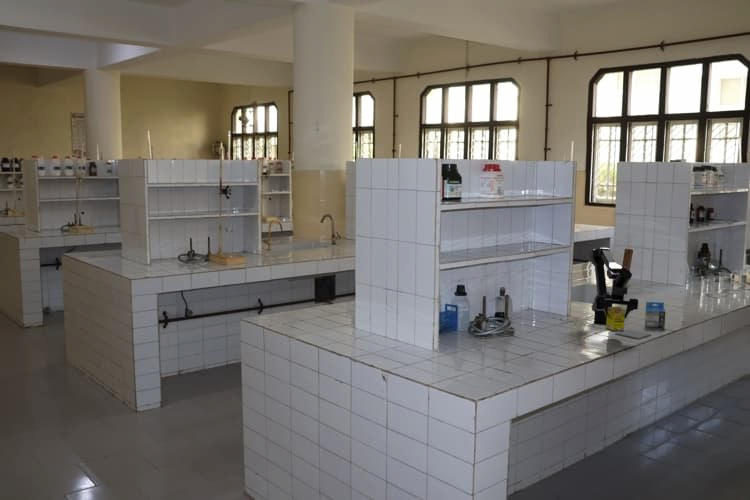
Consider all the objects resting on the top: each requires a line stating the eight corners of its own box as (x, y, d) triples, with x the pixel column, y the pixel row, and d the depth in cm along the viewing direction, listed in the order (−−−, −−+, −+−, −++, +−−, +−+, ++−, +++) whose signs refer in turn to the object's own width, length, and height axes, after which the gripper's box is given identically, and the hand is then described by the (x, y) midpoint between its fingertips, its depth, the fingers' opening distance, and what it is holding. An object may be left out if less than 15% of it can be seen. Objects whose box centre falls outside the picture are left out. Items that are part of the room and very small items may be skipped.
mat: (638, 339, 317) (638, 338, 317) (615, 334, 326) (615, 333, 326) (650, 335, 325) (650, 334, 325) (627, 330, 334) (627, 329, 333)
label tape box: (646, 327, 341) (648, 303, 340) (644, 325, 345) (646, 301, 344) (664, 327, 340) (666, 304, 338) (662, 326, 344) (664, 302, 342)
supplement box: (613, 332, 314) (614, 309, 312) (605, 329, 320) (607, 306, 318) (624, 331, 315) (625, 308, 314) (616, 328, 321) (618, 306, 320)
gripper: (597, 278, 321) (594, 306, 313) (639, 282, 314) (637, 310, 306) (597, 291, 330) (594, 318, 321) (638, 295, 323) (636, 322, 314)
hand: (615, 317), depth 315 cm, fingers closed on supplement box, 8 cm apart
